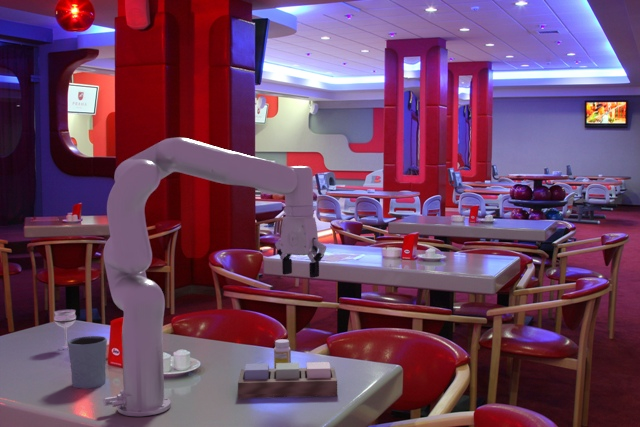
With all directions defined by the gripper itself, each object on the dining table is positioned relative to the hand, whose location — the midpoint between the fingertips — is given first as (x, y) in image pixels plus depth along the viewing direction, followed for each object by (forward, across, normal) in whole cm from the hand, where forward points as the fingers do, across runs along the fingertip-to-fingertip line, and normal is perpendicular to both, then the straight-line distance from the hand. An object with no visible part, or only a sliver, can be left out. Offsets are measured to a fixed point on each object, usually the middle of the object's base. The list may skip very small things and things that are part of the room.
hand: (300, 275), depth 194 cm
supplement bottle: (+29, -11, +4) cm, 31 cm away
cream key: (+26, +9, -4) cm, 28 cm away
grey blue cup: (+28, -44, -38) cm, 64 cm away
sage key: (+26, +3, -9) cm, 28 cm away
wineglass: (+28, -83, -21) cm, 90 cm away
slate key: (+26, -3, -14) cm, 30 cm away
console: (+29, +3, -9) cm, 30 cm away
